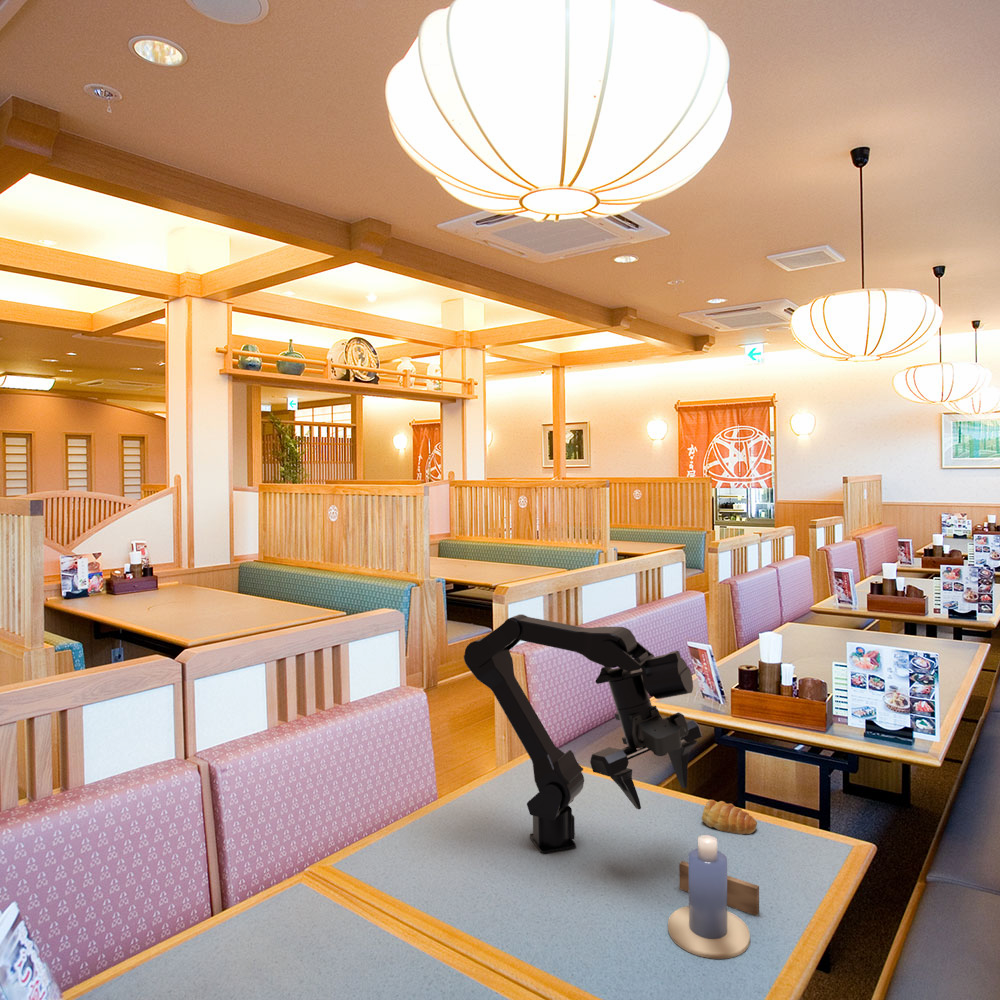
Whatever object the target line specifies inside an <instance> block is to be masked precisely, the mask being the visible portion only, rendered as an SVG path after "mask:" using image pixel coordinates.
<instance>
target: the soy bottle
mask: <svg viewBox="0 0 1000 1000" xmlns="http://www.w3.org/2000/svg"><path fill="white" fill-rule="evenodd" d="M688 863H689V892H688V906H689V927H690V929H691V931H692V932H693V933H695V934H696V935H698V936H700V937H703V938H707V939H719V938H722V937H724V936H725V935H726V934H727V911H728V906H727V876H728V858H727V856H726V854H724V853H722V852H721V851H720V850H718V839H717V838H716V837H714V836H713V835H708V834H702V835H699V836H698V837H697V848H694V849H691V850H690V851H689V852H688Z"/></svg>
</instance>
